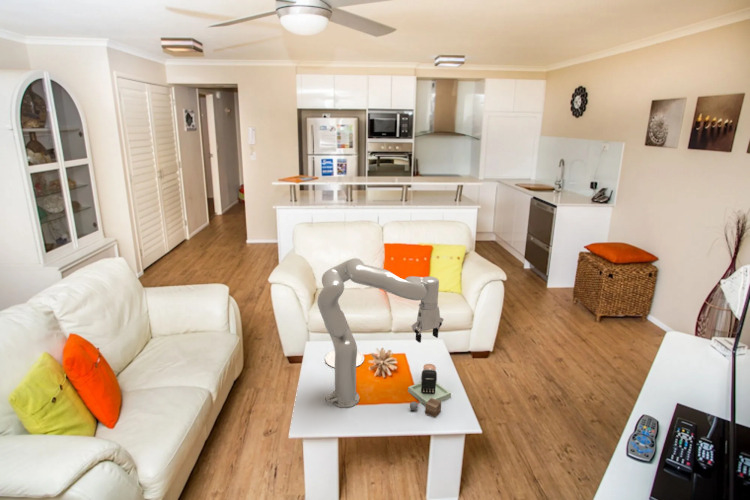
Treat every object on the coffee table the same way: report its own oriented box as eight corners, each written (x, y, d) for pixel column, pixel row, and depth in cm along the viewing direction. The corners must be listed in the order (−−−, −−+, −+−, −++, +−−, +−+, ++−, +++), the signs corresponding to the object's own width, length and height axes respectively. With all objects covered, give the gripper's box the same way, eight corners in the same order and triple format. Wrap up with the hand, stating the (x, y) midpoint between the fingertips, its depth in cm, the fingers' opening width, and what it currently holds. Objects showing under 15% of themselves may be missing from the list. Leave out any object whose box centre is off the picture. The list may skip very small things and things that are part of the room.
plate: (317, 365, 229) (317, 363, 229) (336, 347, 248) (336, 345, 247) (354, 374, 222) (354, 372, 221) (370, 354, 240) (370, 352, 240)
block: (435, 417, 190) (435, 407, 188) (425, 413, 193) (425, 403, 191) (440, 411, 194) (441, 402, 192) (430, 407, 196) (431, 397, 195)
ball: (412, 413, 192) (413, 406, 191) (407, 408, 195) (408, 401, 194) (419, 410, 194) (419, 403, 193) (414, 406, 197) (414, 399, 196)
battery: (420, 394, 204) (422, 372, 200) (420, 389, 207) (421, 368, 204) (436, 395, 203) (437, 373, 200) (435, 390, 207) (436, 369, 204)
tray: (427, 407, 196) (427, 402, 196) (408, 391, 208) (408, 386, 207) (450, 397, 204) (451, 392, 203) (431, 382, 215) (431, 378, 214)
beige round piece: (428, 382, 215) (428, 371, 214) (420, 376, 220) (421, 365, 218) (437, 378, 218) (438, 368, 217) (429, 373, 223) (430, 362, 222)
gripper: (418, 311, 190) (416, 346, 195) (449, 303, 198) (446, 338, 203) (408, 304, 196) (406, 339, 201) (438, 297, 205) (436, 331, 209)
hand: (426, 338), depth 202 cm, fingers open, 9 cm apart
